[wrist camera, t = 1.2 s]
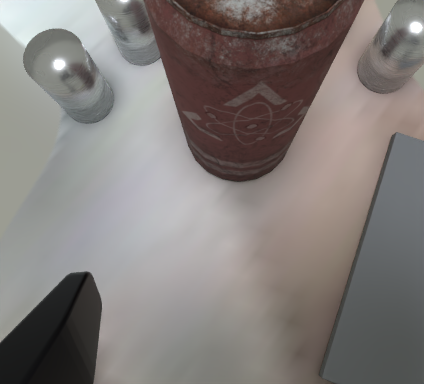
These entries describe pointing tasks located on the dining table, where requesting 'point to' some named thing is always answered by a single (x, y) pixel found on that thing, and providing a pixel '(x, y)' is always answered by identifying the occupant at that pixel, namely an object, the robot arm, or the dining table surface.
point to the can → (246, 73)
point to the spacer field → (148, 53)
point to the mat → (385, 282)
